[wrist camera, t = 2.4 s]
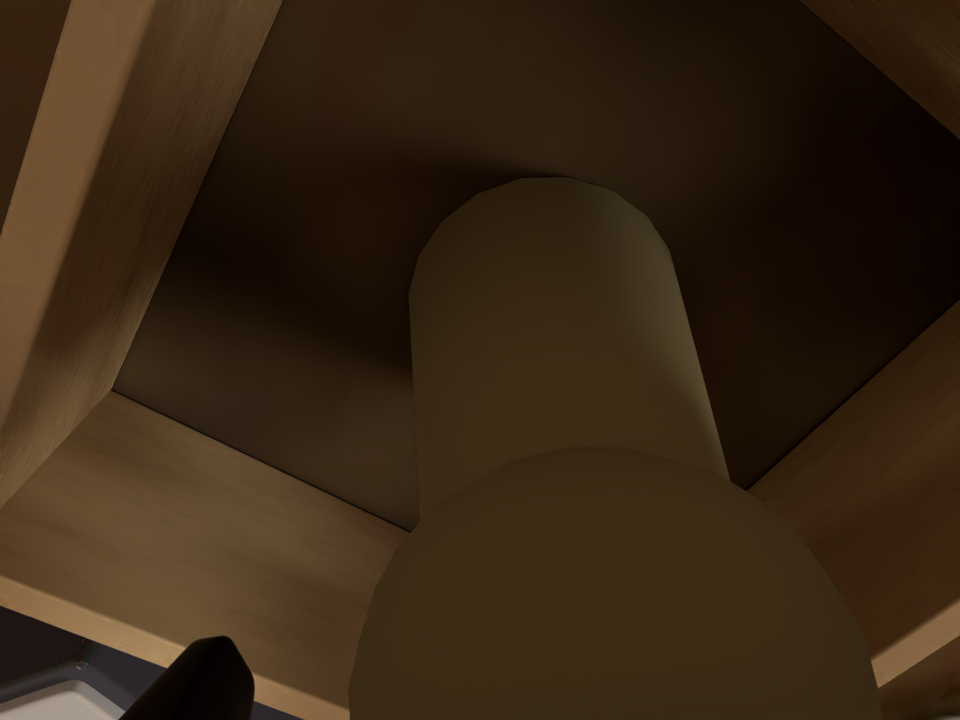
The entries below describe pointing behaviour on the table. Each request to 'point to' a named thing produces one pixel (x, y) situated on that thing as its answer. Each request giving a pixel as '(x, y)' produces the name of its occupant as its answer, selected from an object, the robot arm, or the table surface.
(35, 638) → the calculator
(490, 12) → the table surface
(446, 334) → the beige pawn
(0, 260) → the crate
